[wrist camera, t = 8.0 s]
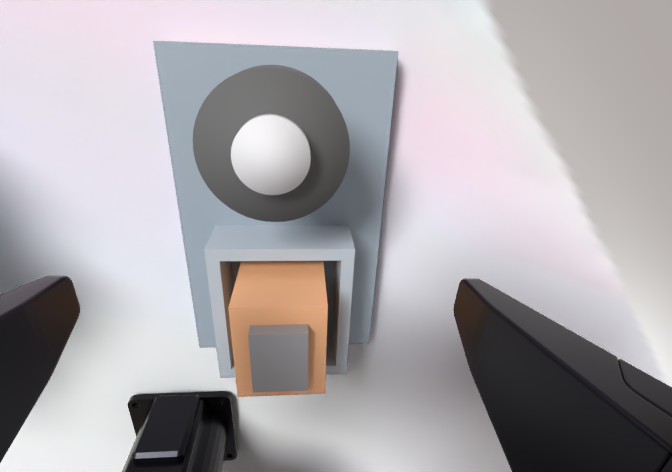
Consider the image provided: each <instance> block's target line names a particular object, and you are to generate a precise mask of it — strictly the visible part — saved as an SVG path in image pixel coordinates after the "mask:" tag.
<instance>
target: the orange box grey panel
mask: <svg viewBox="0 0 672 472" xmlns="http://www.w3.org/2000/svg"><path fill="white" fill-rule="evenodd" d="M228 310H229V320H230V329H231V338H232V348H233V357H234V366H235V376H236V385H237V395H238V397H246V396H272V395H298V394H324V393H325V376H326V346H327V315H328V303H327V293H326V283H325V273H324V263H323V261H241V264H240V267H239V271H238V275H237V278H236V282H235V285H234V289H233V293H232V296H231V300H230V304H229V307H228Z"/></svg>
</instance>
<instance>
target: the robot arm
mask: <svg viewBox="0 0 672 472" xmlns="http://www.w3.org/2000/svg"><path fill="white" fill-rule="evenodd" d="M79 313H80V305H79V302H78V299H77V295H76V292H75V289H74V286H73V283H72V280H71V279H70V278H69V277H67V276H46V277H43V278H41V279H39V280H36V281H34V282H31V283H29V284H27V285H24V286H22V287H19V288H17V289H15V290H12V291H10V292H7V293H5V294H3V295H0V462H1V461H2V459H3V457H4V456H5V454H6V452H7V451H8V449H9V447H10V446H11V444H12V442H13V441H14V439H15V437H16V435H17V434H18V432H19V430H20V429H21V427H22V425H23V424H24V422H25V420H26V419H27V417H28V415H29V413H30V412H31V410H32V408H33V407H34V405H35V403H36V402H37V400H38V398H39V397H40V395H41V393H42V392H43V390H44V388H45V386H46V385H47V383H48V381H49V379H50V377H51V376H52V374H53V372H54V370H55V367H56V365H57V363H58V361H59V359H60V357H61V354H62V352H63V350H64V348H65V346H66V343H67V341H68V339H69V337H70V335H71V332H72V330H73V328H74V326H75V324H76V321H77V319H78V317H79ZM454 317H455V320H456V324H457V327H458V330H459V334H460V337H461V341H462V344H463V348H464V351H465V355H466V358H467V362H468V365H469V368H470V371H471V374H472V376H473V379H474V381H475V384H476V386H477V388H478V391H479V393H480V396H481V398H482V400H483V403H484V405H485V408H486V410H487V412H488V415H489V417H490V420H491V422H492V424H493V427H494V429H495V432H496V434H497V436H498V439H499V441H500V444H501V446H502V448H503V451H504V453H505V456H506V458H507V460H508V463H509V465H510V468H511V470H512V472H672V387H670V386H668V385H666V384H665V383H663V382H661V381H659V380H657V379H655V378H654V377H652V376H650V375H648V374H646V373H644V372H643V371H641V370H639V369H637V368H635V367H634V366H632V365H630V364H628V363H627V362H625V361H623V360H621V359H619V360H618V359H617V357H616V356H614V355H612V354H611V353H609V352H607V351H605V350H604V349H602V348H600V347H598V346H597V345H595V344H593V343H591V342H589V341H588V340H586V339H584V338H582V337H581V336H579V335H577V334H575V333H574V332H572V331H570V330H568V329H566V328H565V327H563V326H561V325H559V324H558V323H556V322H554V321H552V320H551V319H549V318H547V317H545V316H544V315H542V314H540V313H538V312H536V311H535V310H533V309H531V308H529V307H528V306H526V305H524V304H522V303H521V302H519V301H517V300H515V299H513V298H512V297H510V296H508V295H506V294H505V293H503V292H501V291H499V290H498V289H496V288H494V287H492V286H491V285H489V284H487V283H485V282H483V281H482V280H480V279H463V280H461V282H460V284H459V287H458V291H457V295H456V300H455V304H454ZM222 399H224V400H222ZM128 408H129V412H130V415H131V419H132V422H133V426H134V429H135V433H136V436H137V437H136V440H135V442H134V444H133V447H132V449H131V452H130V454H129V456H128V459H127V461H126V464H125V466H124V468H123V471H122V472H221V469H222V464H223V461H226V460H234V459H235V458H236V457H237V451H238V450H237V441H236V432H235V423H234V414H233V405H232V397H231V395H230V394H229V393H227V392H202V393H174V394H145V395H134V396H132V397H131V398H130V400H129V402H128Z"/></svg>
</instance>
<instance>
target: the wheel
mask: <svg viewBox="0 0 672 472" xmlns="http://www.w3.org/2000/svg"><path fill="white" fill-rule="evenodd" d="M193 152H194V157H195V161H196V164H197V167H198V170H199V172H200V174H201V177H202V179H203V180H204V182H205V183H206V185H207V187H208V188H209V189H210V190H211V192H212V193H213V194H214V195H215V196H216V197H217V198H218V199H219V200H220V201H221V202H222V203H223V204H225V205H226V206H227V207H229V208H230V209H232V210H234V211H235V212H237V213H239V214H241V215H244V216H246V217H249V218H252V219H255V220H260V221H266V222H285V221H291V220H295V219H299V218H302V217H304V216H307V215H309V214H311V213H313V212H314V211H316V210H318V209H319V208H320V207H322V206H323V205H324V204H325V203H327V202H328V201H329V200H330V198H331V197H332V196H333V195H334V194H335V192H336V191H337V190H338V188H339V186H340V185H341V183H342V181H343V179H344V176H345V174H346V171H347V167H348V163H349V156H350V141H349V134H348V130H347V126H346V123H345V120H344V118H343V116H342V113H341V112H340V110H339V108H338V106H337V105H336V103H335V101H334V99H333V98H332V97H331V95H330V94H329V93H328V91H327V90H326V89H325V88H324V87H323V86H322V85H321V84H320V83H319V82H317V81H316V80H315V79H313V78H312V77H310V76H309V75H307V74H305V73H303V72H301V71H299V70H296V69H294V68H290V67H286V66H281V65H260V66H255V67H251V68H248V69H245V70H242V71H240V72H238V73H236V74H234V75H232V76H230V77H228V78H227V79H225V80H224V81H223V82H221V83H220V84H218V85H217V86H216V87H215V88H214V89H213V90H212V91H211V92H210V94H209V95H208V96H207V97H206V99H205V100H204V102H203V104H202V105H201V107H200V109H199V112H198V114H197V117H196V120H195V124H194V129H193Z"/></svg>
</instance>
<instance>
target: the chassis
mask: <svg viewBox="0 0 672 472" xmlns="http://www.w3.org/2000/svg"><path fill="white" fill-rule="evenodd" d="M153 43H154V50H155V56H156V63H157V69H158V76H159V83H160V89H161V96H162V102H163V109H164V116H165V122H166V129H167V135H168V142H169V148H170V155H171V162H172V168H173V175H174V181H175V188H176V195H177V201H178V208H179V214H180V221H181V228H182V234H183V241H184V247H185V254H186V260H187V267H188V274H189V280H190V287H191V293H192V300H193V307H194V313H195V320H196V326H197V333H198V340H199V346H200V348H203V347H217V355H218V363H219V370H220V378H230V377H236V376H235V366H234V357H233V348H232V338H231V329H230V320H229V310H228V307H229V304H230V300H231V296H232V293H233V289H234V285H235V282H236V278H237V275H238V271H239V267H240V264H241V261H323V263H324V273H325V283H326V293H327V303H328V315H327V346H326V374H346V373H347V359H348V344H362V343H369V339H370V329H371V319H372V309H373V299H374V289H375V279H376V269H377V259H378V249H379V239H380V229H381V219H382V209H383V198H384V188H385V178H386V168H387V158H388V148H389V138H390V128H391V118H392V108H393V98H394V88H395V78H396V68H397V58H398V51H382V50H359V49H335V48H312V47H288V46H265V45H241V44H218V43H194V42H171V41H153ZM260 65H281V66H286V67H290V68H294V69H296V70H299V71H301V72H303V73H305V74H307V75H309V76H310V77H312V78H313V79H315V80H316V81H317V82H319V83H320V84H321V85H322V86H323V87H324V88H325V89H326V90H327V91H328V93H329V94H330V95H331V97H332V98H333V99H334V101H335V103H336V105H337V106H338V108H339V110H340V112H341V113H342V116H343V118H344V120H345V123H346V126H347V130H348V134H349V141H350V156H349V163H348V167H347V171H346V174H345V176H344V179H343V181H342V183H341V185H340V186H339V188H338V190H337V191H336V192H335V194H334V195H333V196H332V197H331V198H330V200H329V201H328V202H327V203H325V204H324V205H323V206H322V207H320V208H319V209H318V210H316V211H314V212H313V213H311V214H309V215H307V216H304V217H302V218H299V219H295V220H291V221H285V222H266V221H260V220H255V219H252V218H249V217H246V216H244V215H241V214H239V213H237V212H235V211H234V210H232V209H230V208H229V207H227V206H226V205H225V204H223V203H222V202H221V201H220V200H219V199H218V198H217V197H216V196H215V195H214V194H213V193H212V192H211V190H210V189H209V188H208V187H207V185H206V183H205V182H204V180H203V179H202V177H201V174H200V172H199V170H198V167H197V164H196V161H195V157H194V152H193V129H194V124H195V120H196V117H197V114H198V112H199V109H200V107H201V105H202V104H203V102H204V100H205V99H206V97H207V96H208V95H209V94H210V92H211V91H212V90H213V89H214V88H215V87H216V86H217V85H218V84H220V83H221V82H223V81H224V80H225V79H227V78H228V77H230V76H232V75H234V74H236V73H238V72H240V71H242V70H245V69H248V68H251V67H255V66H260Z"/></svg>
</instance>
